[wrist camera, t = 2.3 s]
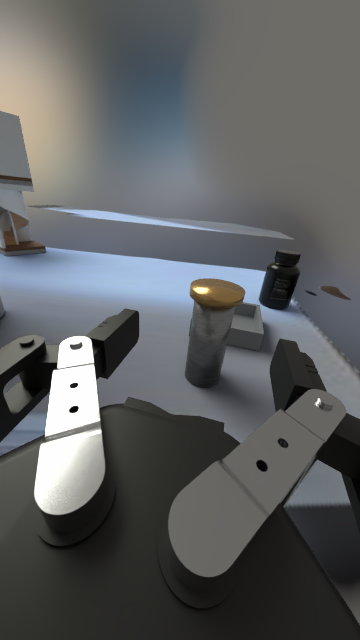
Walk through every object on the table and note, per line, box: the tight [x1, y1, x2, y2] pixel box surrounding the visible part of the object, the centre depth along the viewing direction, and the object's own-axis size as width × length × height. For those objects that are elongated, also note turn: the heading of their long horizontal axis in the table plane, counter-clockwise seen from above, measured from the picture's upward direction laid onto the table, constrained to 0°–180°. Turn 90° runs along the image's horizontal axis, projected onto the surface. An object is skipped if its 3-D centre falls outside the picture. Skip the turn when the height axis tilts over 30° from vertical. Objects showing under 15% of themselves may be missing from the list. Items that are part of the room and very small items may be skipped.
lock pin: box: [185, 279, 245, 388], centre depth 26 cm, size 6×6×12 cm
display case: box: [0, 111, 46, 256], centre depth 65 cm, size 11×11×35 cm
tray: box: [189, 302, 264, 351], centre depth 39 cm, size 11×11×3 cm
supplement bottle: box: [259, 250, 301, 309], centre depth 49 cm, size 7×7×12 cm
